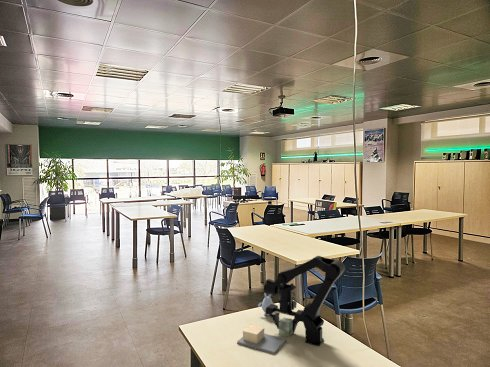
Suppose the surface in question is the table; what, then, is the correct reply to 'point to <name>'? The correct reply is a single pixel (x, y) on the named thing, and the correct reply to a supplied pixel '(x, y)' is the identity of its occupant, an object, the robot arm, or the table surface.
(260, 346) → the build plate
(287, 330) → the sage block
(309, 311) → the robot arm
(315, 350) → the table surface
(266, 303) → the toy figure
